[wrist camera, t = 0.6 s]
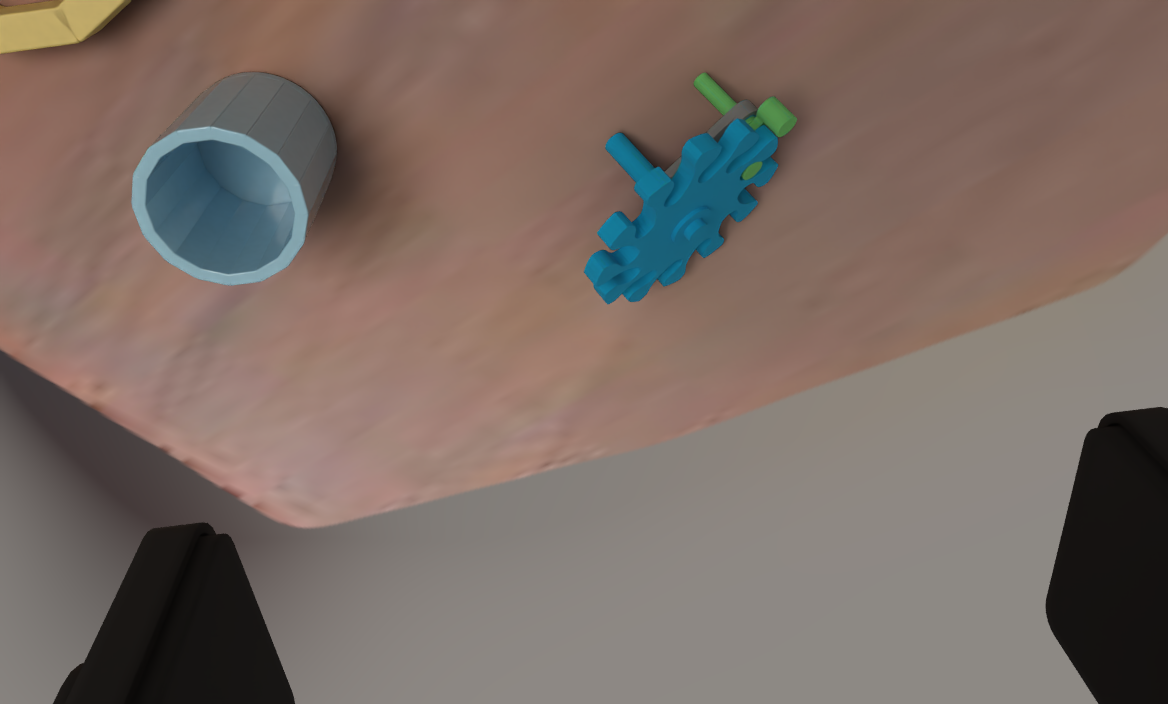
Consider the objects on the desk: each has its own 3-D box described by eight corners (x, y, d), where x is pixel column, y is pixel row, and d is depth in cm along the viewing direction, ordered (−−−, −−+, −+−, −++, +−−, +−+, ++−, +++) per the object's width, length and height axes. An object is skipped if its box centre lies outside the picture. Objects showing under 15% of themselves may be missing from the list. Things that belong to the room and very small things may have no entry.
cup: (169, 81, 39) (105, 140, 33) (316, 62, 39) (280, 117, 33) (216, 217, 42) (165, 294, 36) (352, 199, 42) (325, 273, 36)
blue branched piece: (645, 329, 45) (571, 291, 36) (573, 244, 47) (484, 187, 38) (821, 169, 43) (791, 85, 34) (738, 87, 45) (688, -15, 36)
